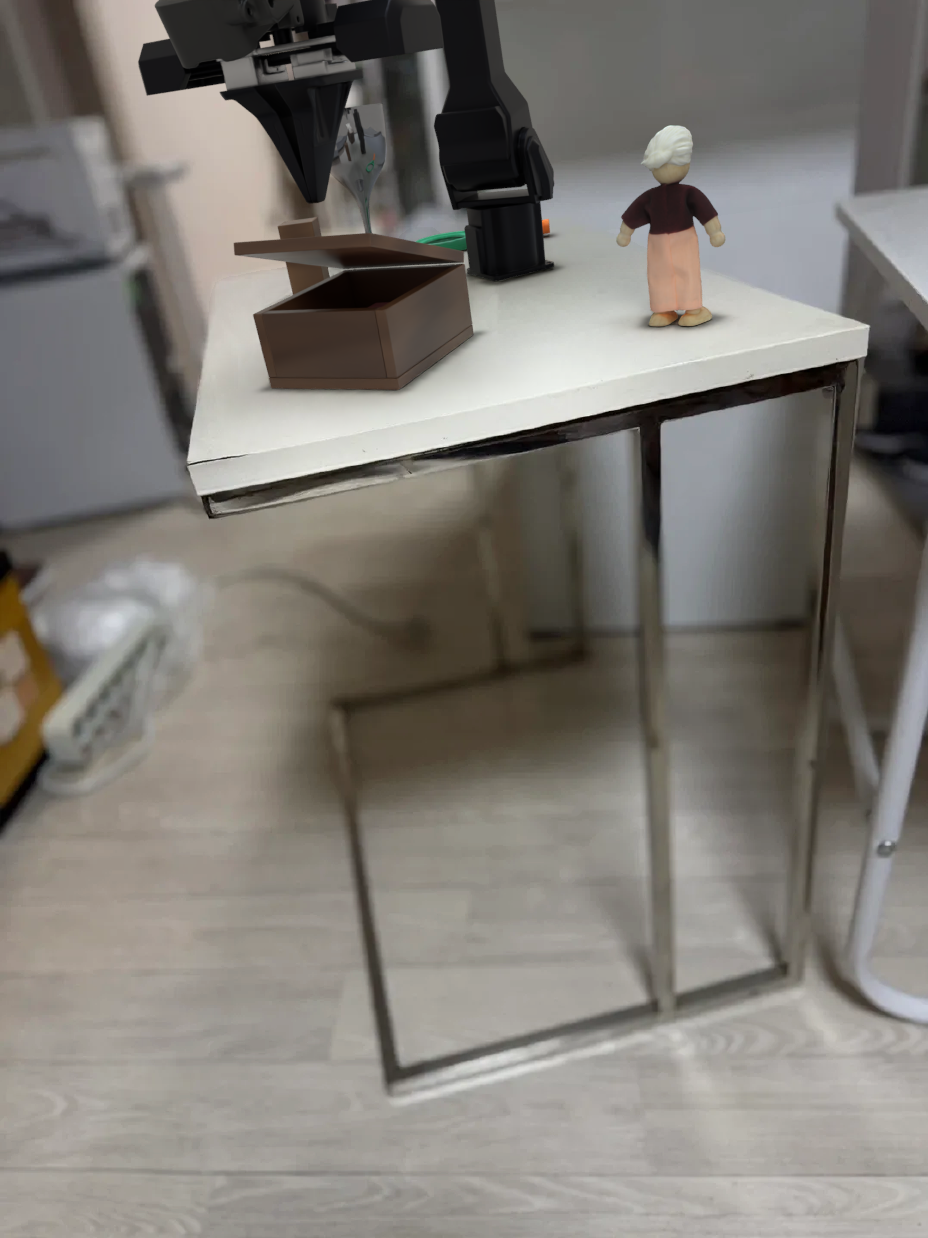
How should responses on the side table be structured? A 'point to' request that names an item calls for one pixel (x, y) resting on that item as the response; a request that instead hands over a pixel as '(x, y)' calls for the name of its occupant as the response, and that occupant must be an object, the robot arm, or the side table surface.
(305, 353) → the chest
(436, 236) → the magnifying glass
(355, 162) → the wine glass
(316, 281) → the stand
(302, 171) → the robot arm
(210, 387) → the side table surface
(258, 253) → the lid
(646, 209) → the grandmother figurine
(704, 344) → the side table surface
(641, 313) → the side table surface
